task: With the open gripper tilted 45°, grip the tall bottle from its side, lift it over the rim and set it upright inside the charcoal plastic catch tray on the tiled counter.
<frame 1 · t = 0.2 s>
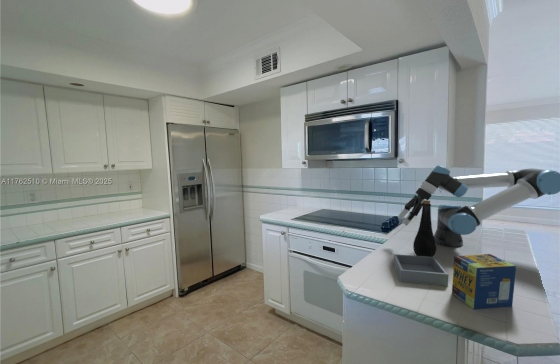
hand: (401, 221, 148), 15 cm above the worktop, tool tilted 35°, fingers open, 13 cm apart
catch tray: (417, 273, 117), on the worktop
bottle: (424, 257, 135), on the worktop
protein box: (480, 300, 96), on the worktop
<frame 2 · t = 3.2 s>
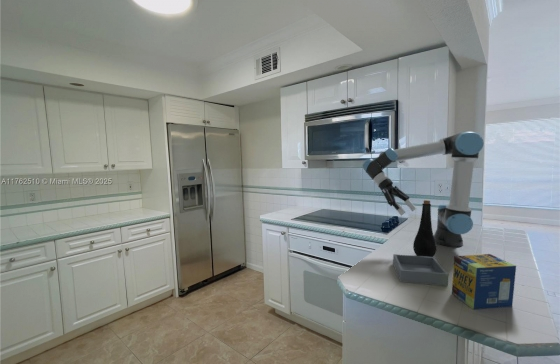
hand: (409, 211, 138), 23 cm above the worktop, tool tilted 45°, fingers open, 13 cm apart
nothing on the worktop moved.
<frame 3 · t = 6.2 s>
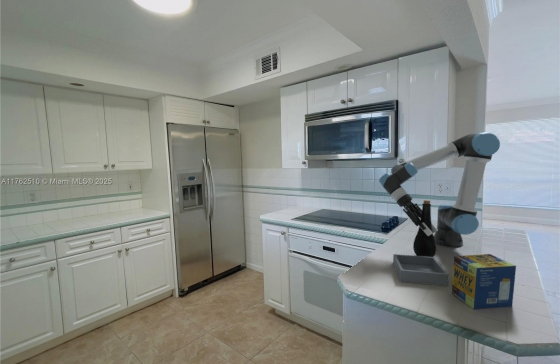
hand: (433, 233, 131), 14 cm above the worktop, tool tilted 45°, fingers closed on bottle, 6 cm apart
bottle: (424, 257, 135), on the worktop, touching gripper
everything else where it was.
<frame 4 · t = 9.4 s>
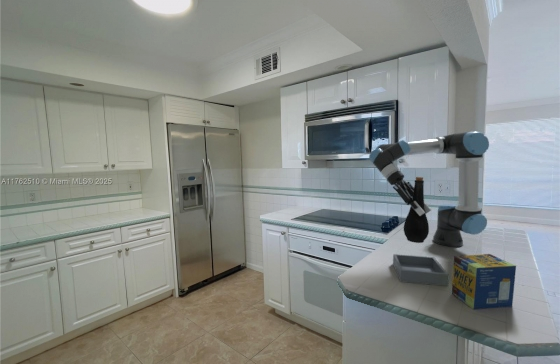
hand: (425, 213, 118), 27 cm above the worktop, tool tilted 45°, fingers closed on bottle, 6 cm apart
bottle: (415, 240, 122), point 13 cm above the worktop, touching gripper
everything else where it was.
when the fingers open (16 cm above the worktop, at t = 12.7 s): bottle drops 1 cm, resting on catch tray.
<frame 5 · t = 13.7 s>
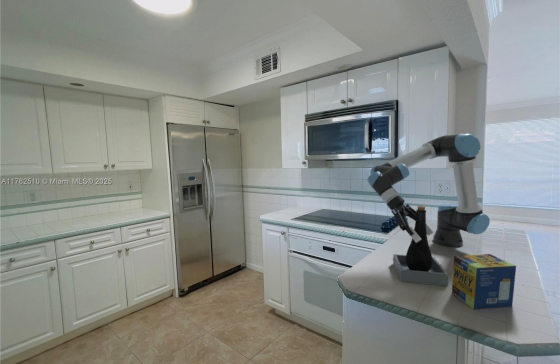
hand: (425, 237, 113), 18 cm above the worktop, tool tilted 45°, fingers open, 13 cm apart
bottle: (418, 272, 117), point 1 cm above the worktop, touching catch tray
everything else where it was.
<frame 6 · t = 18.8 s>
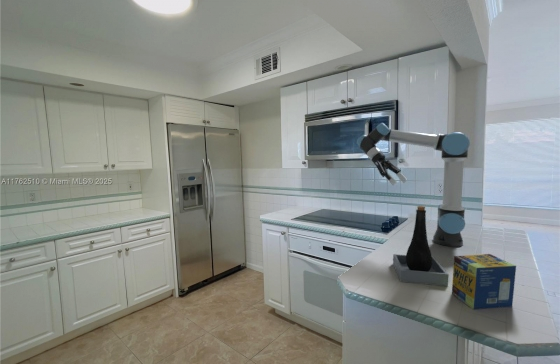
hand: (400, 182, 146), 38 cm above the worktop, tool tilted 45°, fingers open, 13 cm apart
nothing on the worktop moved.
at the end: bottle inside the target area on the catch tray (0.1 cm from its centre), point 0.8 cm above the catch tray's base; bottle tilted 0°; the gripper is holding nothing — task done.
